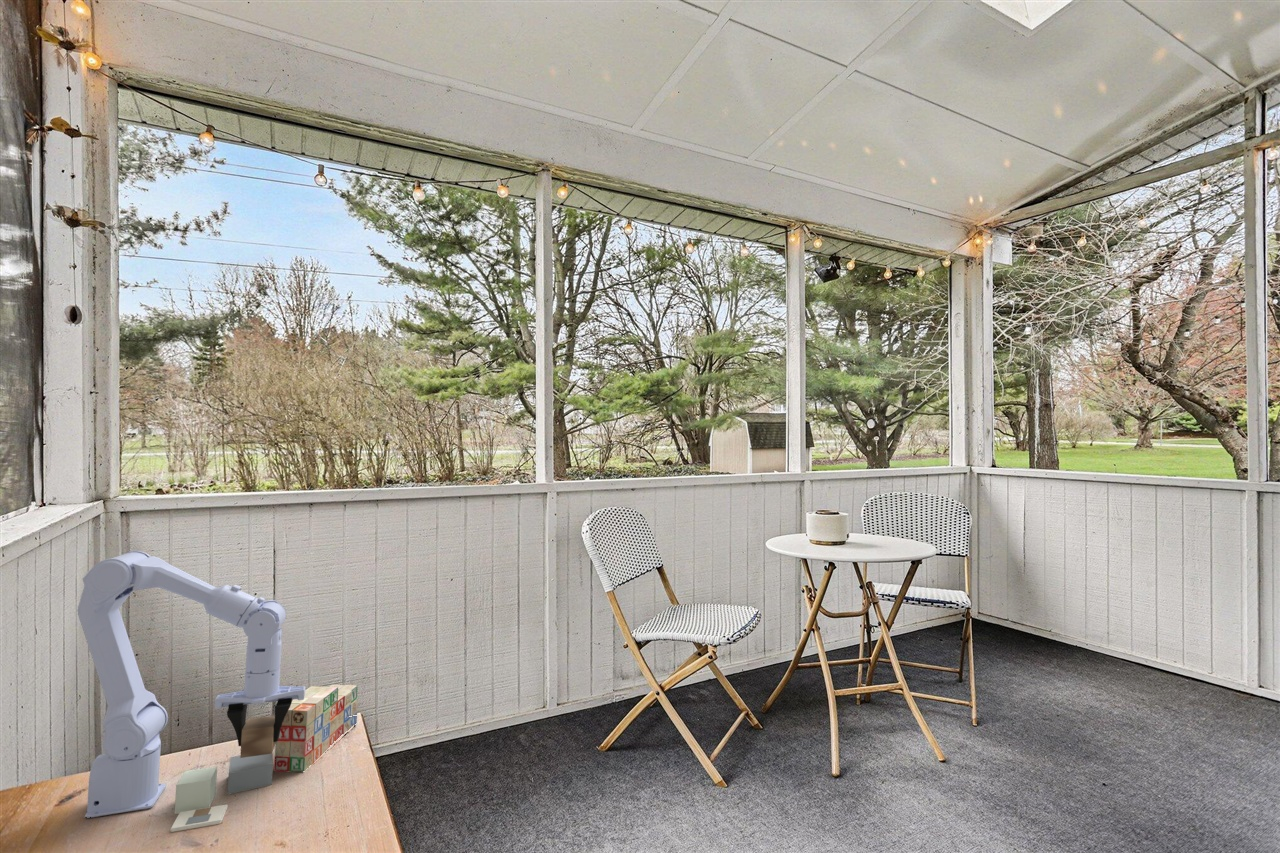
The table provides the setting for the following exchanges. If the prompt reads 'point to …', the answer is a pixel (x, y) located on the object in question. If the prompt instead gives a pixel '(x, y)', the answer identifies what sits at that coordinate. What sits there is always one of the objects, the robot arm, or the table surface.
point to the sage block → (195, 789)
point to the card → (199, 818)
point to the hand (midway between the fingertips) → (259, 741)
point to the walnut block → (258, 737)
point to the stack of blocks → (314, 725)
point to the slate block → (249, 772)
